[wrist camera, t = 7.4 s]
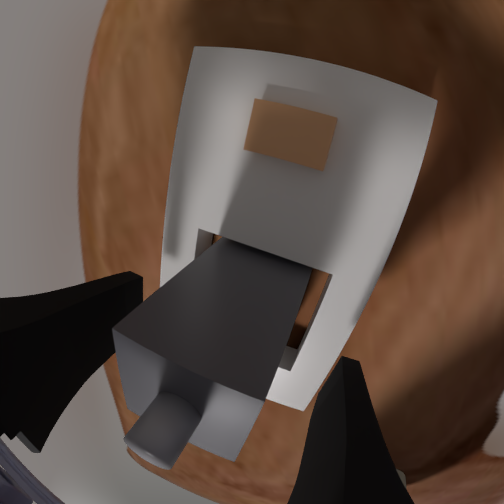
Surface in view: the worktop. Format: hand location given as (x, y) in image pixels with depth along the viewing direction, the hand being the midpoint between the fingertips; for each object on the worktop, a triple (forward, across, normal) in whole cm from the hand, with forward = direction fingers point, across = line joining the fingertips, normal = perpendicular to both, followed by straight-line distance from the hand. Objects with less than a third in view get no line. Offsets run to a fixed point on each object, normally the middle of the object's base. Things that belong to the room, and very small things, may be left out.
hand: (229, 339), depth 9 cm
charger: (+3, 0, 0) cm, 4 cm away
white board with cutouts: (+3, 0, -2) cm, 4 cm away
